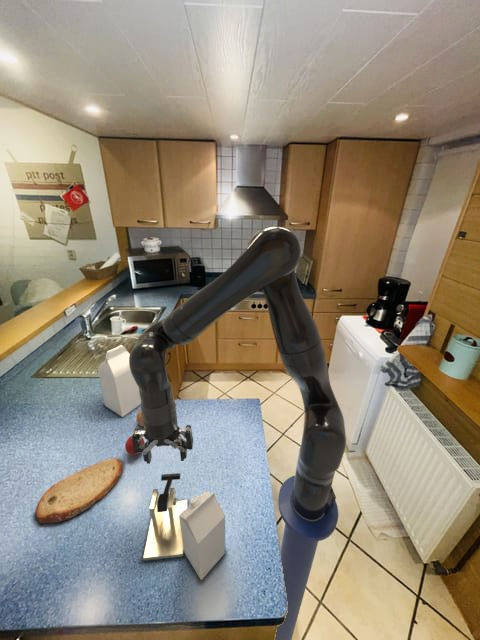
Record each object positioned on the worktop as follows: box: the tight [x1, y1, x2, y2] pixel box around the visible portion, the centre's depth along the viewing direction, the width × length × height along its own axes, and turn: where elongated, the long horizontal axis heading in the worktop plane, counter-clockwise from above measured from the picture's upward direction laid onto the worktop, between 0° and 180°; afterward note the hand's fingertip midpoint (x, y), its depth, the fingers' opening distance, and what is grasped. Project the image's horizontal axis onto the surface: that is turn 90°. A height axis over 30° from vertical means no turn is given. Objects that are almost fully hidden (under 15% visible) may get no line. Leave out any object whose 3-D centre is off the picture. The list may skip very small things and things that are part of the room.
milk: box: [97, 344, 141, 418], centre depth 99 cm, size 12×12×26 cm
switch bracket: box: [142, 487, 189, 562], centre depth 61 cm, size 12×9×13 cm
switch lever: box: [157, 472, 181, 512], centre depth 64 cm, size 12×5×2 cm, turn 5°
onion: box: [124, 434, 145, 456], centre depth 82 cm, size 6×6×8 cm
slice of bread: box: [35, 458, 123, 524], centre depth 72 cm, size 18×18×4 cm
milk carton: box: [179, 491, 226, 581], centre depth 56 cm, size 7×7×19 cm
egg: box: [136, 409, 144, 427], centre depth 93 cm, size 5×5×7 cm
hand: (166, 459), depth 65 cm, fingers open, 8 cm apart
